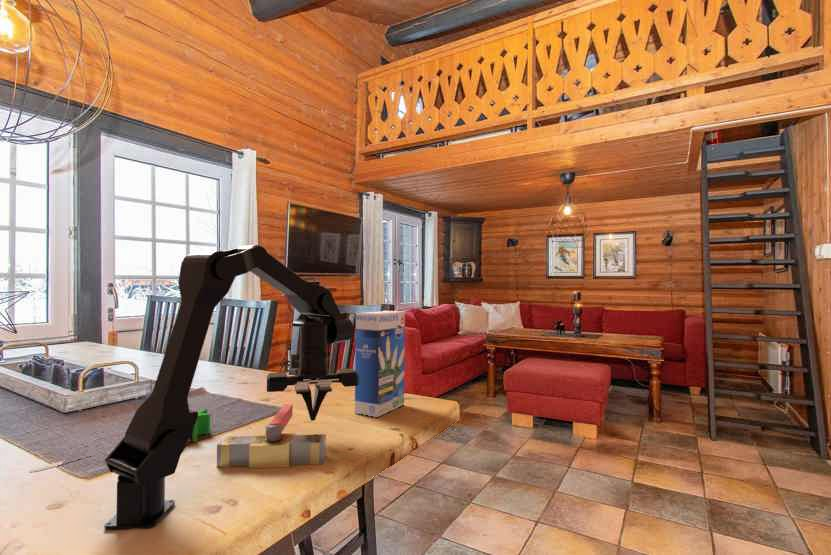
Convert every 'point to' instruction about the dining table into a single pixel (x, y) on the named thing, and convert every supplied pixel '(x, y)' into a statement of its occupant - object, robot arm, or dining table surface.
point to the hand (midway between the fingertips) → (312, 420)
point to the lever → (279, 423)
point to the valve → (271, 451)
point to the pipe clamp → (201, 424)
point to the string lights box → (379, 362)
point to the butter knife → (46, 467)
